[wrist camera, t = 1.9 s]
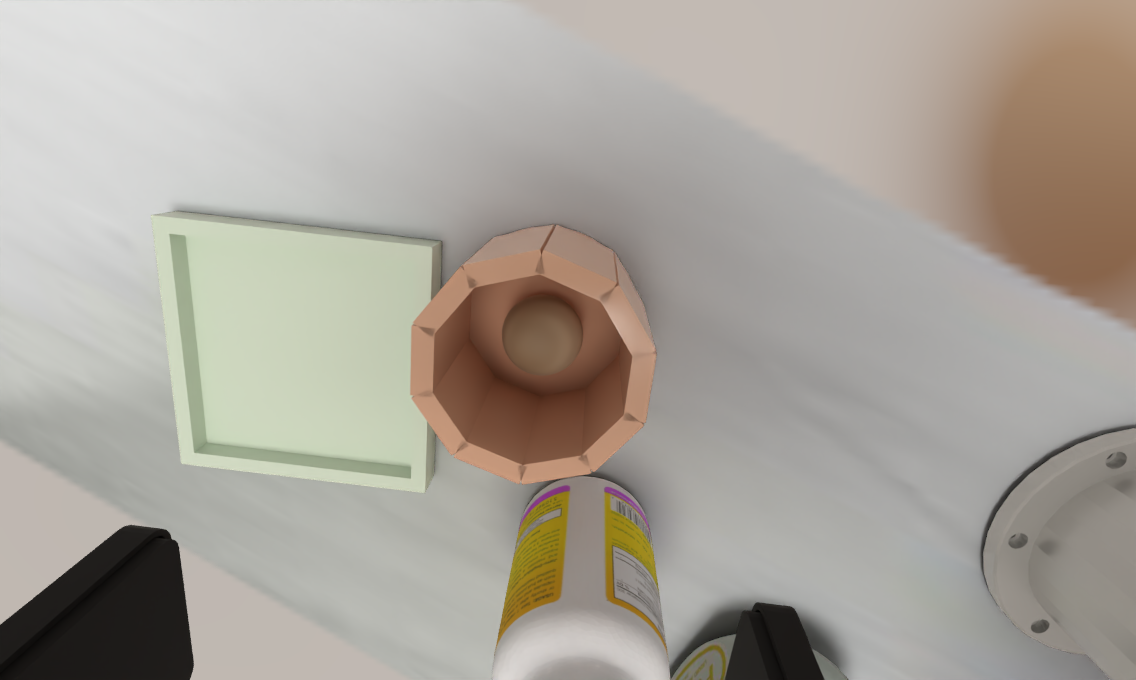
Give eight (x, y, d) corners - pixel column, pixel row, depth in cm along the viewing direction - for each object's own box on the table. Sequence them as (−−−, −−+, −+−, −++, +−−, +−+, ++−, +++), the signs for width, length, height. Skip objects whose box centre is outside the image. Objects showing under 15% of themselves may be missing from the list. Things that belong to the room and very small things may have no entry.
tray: (442, 241, 26) (432, 247, 25) (433, 475, 30) (425, 493, 28) (176, 211, 26) (150, 215, 25) (202, 447, 30) (181, 463, 29)
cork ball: (588, 290, 26) (586, 311, 22) (579, 363, 27) (576, 392, 24) (511, 282, 26) (498, 301, 23) (505, 354, 27) (492, 383, 24)
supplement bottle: (516, 571, 32) (465, 838, 19) (526, 463, 30) (474, 687, 17) (640, 585, 32) (666, 863, 19) (659, 478, 29) (701, 715, 17)
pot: (652, 232, 26) (671, 263, 19) (625, 415, 28) (633, 498, 22) (461, 211, 26) (413, 235, 19) (453, 394, 28) (408, 470, 22)
